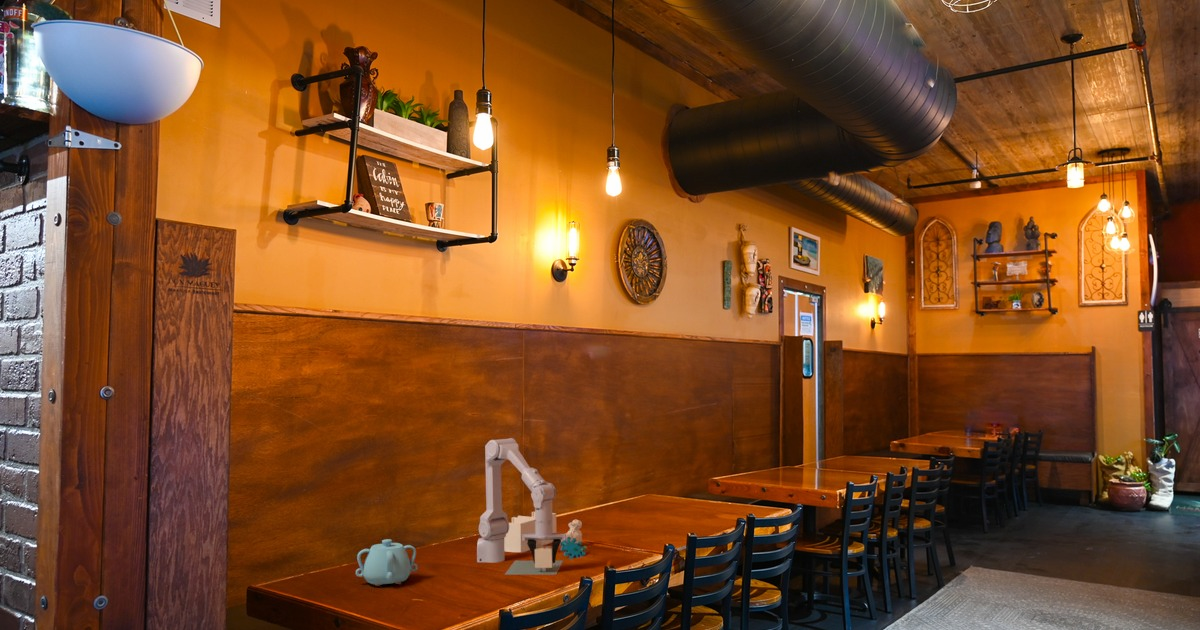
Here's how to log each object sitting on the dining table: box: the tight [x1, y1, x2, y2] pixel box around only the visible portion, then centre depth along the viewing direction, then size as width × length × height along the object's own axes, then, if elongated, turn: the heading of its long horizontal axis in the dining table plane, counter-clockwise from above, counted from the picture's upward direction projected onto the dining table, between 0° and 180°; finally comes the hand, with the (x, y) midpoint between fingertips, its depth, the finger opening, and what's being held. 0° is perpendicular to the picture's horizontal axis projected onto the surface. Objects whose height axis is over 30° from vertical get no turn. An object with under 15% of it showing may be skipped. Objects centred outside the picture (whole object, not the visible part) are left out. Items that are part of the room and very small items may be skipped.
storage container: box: [504, 511, 557, 553], centre depth 324 cm, size 25×11×11 cm, turn 151°
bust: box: [560, 518, 583, 547], centre depth 321 cm, size 12×8×11 cm
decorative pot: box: [355, 538, 419, 586], centre depth 270 cm, size 16×16×14 cm
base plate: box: [504, 560, 564, 576], centre depth 282 cm, size 17×20×1 cm
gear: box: [559, 537, 588, 560], centre depth 299 cm, size 11×6×10 cm
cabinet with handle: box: [535, 545, 554, 568], centre depth 277 cm, size 6×6×6 cm
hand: (544, 562), depth 276 cm, fingers closed on cabinet with handle, 6 cm apart
